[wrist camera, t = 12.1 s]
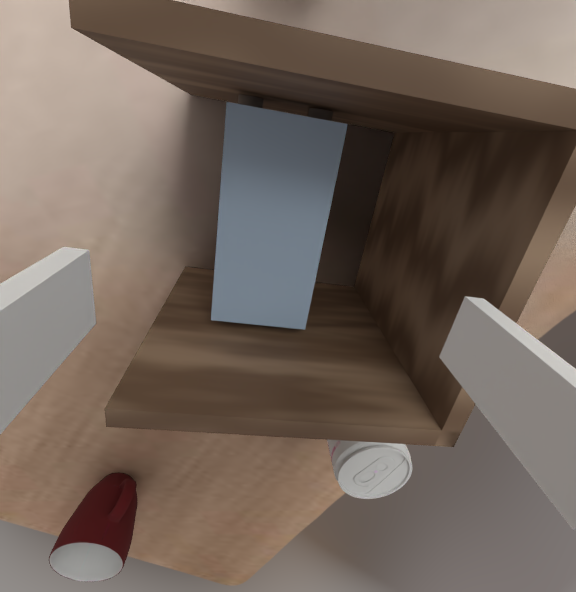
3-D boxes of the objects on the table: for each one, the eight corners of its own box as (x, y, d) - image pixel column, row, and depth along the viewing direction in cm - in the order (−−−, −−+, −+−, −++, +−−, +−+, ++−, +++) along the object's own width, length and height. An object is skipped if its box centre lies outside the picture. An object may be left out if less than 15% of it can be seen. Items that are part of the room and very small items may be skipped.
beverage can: (300, 366, 41) (319, 478, 28) (339, 331, 40) (380, 433, 26) (336, 393, 44) (370, 509, 30) (375, 361, 42) (429, 470, 28)
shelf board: (230, 105, 21) (226, 101, 19) (338, 125, 22) (347, 124, 20) (215, 304, 27) (210, 320, 25) (301, 313, 28) (305, 329, 26)
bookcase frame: (192, 78, 28) (67, -23, 10) (411, 120, 30) (628, 100, 12) (185, 277, 35) (106, 426, 17) (362, 297, 38) (453, 446, 20)
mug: (106, 442, 44) (67, 521, 35) (165, 462, 47) (142, 540, 38) (81, 490, 48) (39, 573, 39) (136, 506, 50) (109, 588, 41)
